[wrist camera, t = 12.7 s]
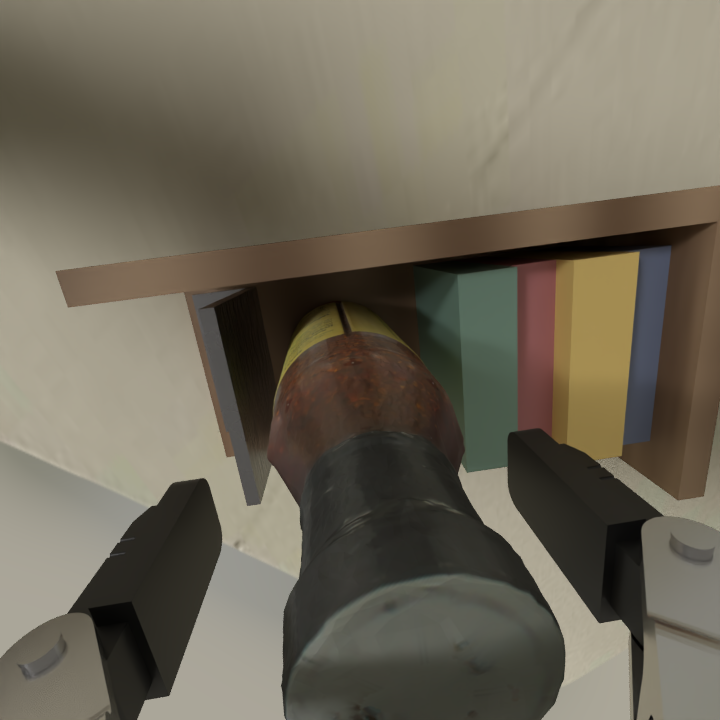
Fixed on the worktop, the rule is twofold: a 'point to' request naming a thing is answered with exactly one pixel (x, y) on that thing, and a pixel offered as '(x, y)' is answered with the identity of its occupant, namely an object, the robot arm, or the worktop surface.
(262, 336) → the bookend
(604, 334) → the book row
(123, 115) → the worktop surface
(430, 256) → the shelf
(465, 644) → the sauce bottle
